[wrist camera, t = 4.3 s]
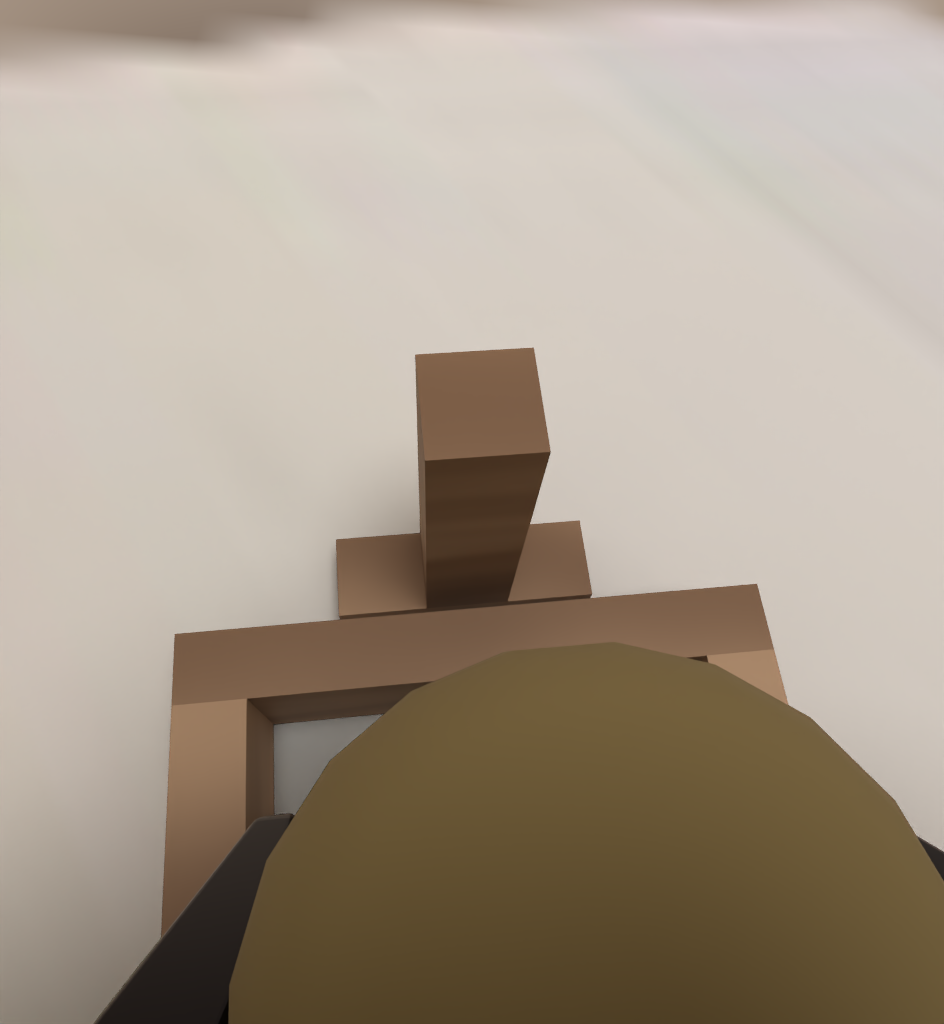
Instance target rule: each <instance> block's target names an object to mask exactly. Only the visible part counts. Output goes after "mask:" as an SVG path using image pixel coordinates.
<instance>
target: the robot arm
mask: <svg viewBox="0 0 944 1024" xmlns="http://www.w3.org/2000/svg"><path fill="white" fill-rule="evenodd" d="M294 816H295V815H293V814H280V815H270V816H262V817H259V818H257V819H256V820H254V821H253V823H252V824H251V825H250V826H249V828H248V829H247V830H246V831H245V833H244V834H243V835H242V836H241V838H240V839H239V840H238V841H237V843H236V844H235V845H234V846H233V848H232V849H231V850H230V852H229V853H228V854H227V855H226V857H225V858H224V859H223V860H222V862H221V863H220V864H219V865H218V867H217V868H216V869H215V871H214V872H213V873H212V874H211V876H210V877H209V878H208V879H207V881H206V882H205V883H204V884H203V886H202V887H201V888H200V889H199V891H198V892H197V893H196V895H195V896H194V897H193V898H192V900H191V901H190V902H189V903H188V905H187V906H186V907H185V908H184V910H183V911H182V912H181V913H180V915H179V916H178V917H177V919H176V920H175V921H174V922H173V924H172V925H171V926H170V927H169V929H168V930H167V931H166V932H165V934H164V935H163V936H162V937H161V939H160V940H159V941H158V943H157V944H156V945H155V946H154V948H153V949H152V950H151V951H150V953H149V954H148V955H147V956H146V958H145V959H144V960H143V961H142V963H141V964H140V965H139V967H138V968H137V969H136V970H135V972H134V973H133V974H132V975H131V977H130V978H129V979H128V980H127V982H126V983H125V984H124V985H123V987H122V988H121V989H120V991H119V992H118V993H117V994H116V996H115V997H114V998H113V999H112V1001H111V1002H110V1003H109V1004H108V1006H107V1007H106V1008H105V1009H104V1011H103V1012H102V1013H101V1015H100V1016H99V1017H98V1018H97V1020H96V1021H95V1022H94V1023H93V1024H228V1020H229V984H230V981H231V978H232V974H233V971H234V968H235V964H236V961H237V957H238V954H239V951H240V947H241V944H242V941H243V937H244V934H245V931H246V927H247V924H248V921H249V917H250V914H251V911H252V907H253V904H254V900H255V897H256V894H257V890H258V887H259V884H260V880H261V877H262V874H263V870H264V867H265V864H266V860H267V859H268V857H269V855H270V854H271V852H272V851H273V849H274V848H275V846H276V844H277V843H278V841H279V840H280V838H281V837H282V835H283V834H284V832H285V830H286V829H287V827H288V826H289V824H290V823H291V821H292V819H293V818H294ZM917 838H918V839H919V841H920V843H921V844H922V846H923V848H924V849H925V851H926V853H927V854H928V856H929V858H930V859H931V861H932V863H933V864H934V866H935V868H936V869H937V871H938V872H939V874H940V876H941V877H942V879H943V881H944V852H943V851H941V850H940V849H938V848H936V847H935V846H933V845H931V844H930V843H928V842H926V841H925V840H923V839H921V838H920V837H918V836H917Z"/></svg>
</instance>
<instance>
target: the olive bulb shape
mask: <svg viewBox="0 0 944 1024" xmlns="http://www.w3.org/2000/svg"><path fill="white" fill-rule="evenodd" d="M228 1024H944V881H943V879H942V877H941V876H940V874H939V872H938V871H937V869H936V868H935V866H934V864H933V863H932V861H931V859H930V858H929V856H928V854H927V853H926V851H925V849H924V848H923V846H922V844H921V843H920V841H919V839H918V838H917V836H916V834H915V833H914V831H913V829H912V828H911V826H910V824H909V823H908V821H907V820H906V818H905V816H904V815H903V813H902V811H901V810H900V808H899V806H898V805H897V803H896V801H895V800H894V799H893V798H892V797H891V796H890V795H889V794H888V793H887V792H886V791H885V790H884V789H883V788H882V787H881V786H880V785H879V784H878V783H877V782H876V781H875V780H874V779H873V778H872V777H871V776H870V775H869V774H867V773H866V772H865V771H864V770H863V769H862V768H861V767H860V766H859V765H858V764H857V763H856V762H855V761H854V760H853V759H852V758H851V757H850V756H849V755H848V754H847V753H846V752H845V751H844V750H843V749H842V748H841V747H840V746H839V745H838V744H837V743H836V742H835V741H834V740H833V739H832V738H831V737H830V736H829V735H828V734H827V733H826V732H825V731H824V730H823V729H822V728H821V727H820V726H819V725H818V724H817V723H816V722H815V721H814V720H813V719H811V718H810V717H809V716H807V715H805V714H803V713H801V712H800V711H798V710H796V709H794V708H792V707H791V706H789V705H787V704H785V703H783V702H782V701H780V700H778V699H776V698H775V697H773V696H771V695H769V694H767V693H766V692H764V691H762V690H760V689H758V688H757V687H755V686H753V685H751V684H749V683H748V682H746V681H744V680H742V679H741V678H739V677H737V676H735V675H733V674H732V673H730V672H728V671H726V670H724V669H723V668H721V667H719V666H717V665H715V664H711V663H707V662H702V661H698V660H693V659H689V658H684V657H680V656H676V655H671V654H667V653H662V652H658V651H653V650H649V649H645V648H640V647H636V646H631V645H627V644H622V643H618V642H607V643H595V644H584V645H572V646H561V647H549V648H537V649H526V650H514V651H506V652H502V653H500V654H497V655H495V656H493V657H490V658H488V659H486V660H483V661H481V662H478V663H476V664H474V665H471V666H469V667H467V668H464V669H462V670H460V671H457V672H455V673H452V674H450V675H448V676H445V677H443V678H441V679H438V680H436V681H434V682H431V683H429V684H426V685H424V686H422V687H419V688H417V689H415V690H412V691H411V692H409V693H408V694H407V695H406V696H405V697H404V698H402V699H401V700H400V701H399V702H398V703H397V704H395V705H394V706H393V707H392V708H391V709H390V710H388V711H387V712H386V713H385V714H384V715H383V716H381V717H380V718H379V719H378V720H377V721H376V722H374V723H373V724H372V725H371V726H370V727H369V728H368V729H366V730H365V731H364V732H363V733H362V734H361V735H359V736H358V737H357V738H356V739H355V740H354V741H352V742H351V743H350V744H349V745H348V746H347V747H345V748H344V749H343V750H342V751H341V752H340V753H338V754H337V755H336V756H335V757H334V758H333V759H331V760H330V761H329V763H328V765H327V766H326V768H325V769H324V771H323V772H322V774H321V776H320V777H319V779H318V780H317V782H316V783H315V785H314V787H313V788H312V790H311V791H310V793H309V794H308V796H307V797H306V799H305V801H304V802H303V804H302V805H301V807H300V808H299V810H298V812H297V813H296V815H295V816H294V818H293V819H292V821H291V823H290V824H289V826H288V827H287V829H286V830H285V832H284V834H283V835H282V837H281V838H280V840H279V841H278V843H277V844H276V846H275V848H274V849H273V851H272V852H271V854H270V855H269V857H268V859H267V860H266V864H265V867H264V870H263V874H262V877H261V880H260V884H259V887H258V890H257V894H256V897H255V900H254V904H253V907H252V911H251V914H250V917H249V921H248V924H247V927H246V931H245V934H244V937H243V941H242V944H241V947H240V951H239V954H238V957H237V961H236V964H235V968H234V971H233V974H232V978H231V981H230V984H229V1020H228Z"/></svg>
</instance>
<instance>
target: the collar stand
mask: <svg viewBox="0 0 944 1024" xmlns="http://www.w3.org/2000/svg"><path fill="white" fill-rule="evenodd" d="M415 360H416V397H417V433H418V470H419V506H420V533H414V534H401V535H388V536H376V537H363V538H350V539H337V540H336V552H337V577H338V603H339V617H340V620H333V621H321V622H309V623H298V624H286V625H275V626H263V627H251V628H240V629H228V630H217V631H205V632H193V633H182V634H175V641H174V663H173V686H172V708H171V730H170V752H169V774H168V796H167V818H166V840H165V862H164V884H163V906H162V928H161V937H162V936H163V935H164V934H165V932H166V931H167V930H168V929H169V927H170V926H171V925H172V924H173V922H174V921H175V920H176V919H177V917H178V916H179V915H180V913H181V912H182V911H183V910H184V908H185V907H186V906H187V905H188V903H189V902H190V901H191V900H192V898H193V897H194V896H195V895H196V893H197V892H198V891H199V889H200V888H201V887H202V886H203V884H204V883H205V882H206V881H207V879H208V878H209V877H210V876H211V874H212V873H213V872H214V871H215V869H216V868H217V867H218V865H219V864H220V863H221V862H222V860H223V859H224V858H225V857H226V855H227V854H228V853H229V852H230V850H231V849H232V848H233V846H234V845H235V844H236V843H237V841H238V840H239V839H240V838H241V836H242V835H243V834H244V833H245V831H246V830H247V829H248V828H249V826H250V825H251V824H252V823H253V821H254V820H256V819H257V818H259V817H262V816H270V815H274V736H273V724H281V723H291V722H302V721H312V720H322V719H333V718H343V717H354V716H364V715H374V714H385V713H386V712H387V711H388V710H390V709H391V708H392V707H393V706H394V705H395V704H397V703H398V702H399V701H400V700H401V699H402V698H404V697H405V696H406V695H407V694H408V693H409V692H411V691H412V690H415V689H417V688H419V687H422V686H424V685H426V684H429V683H431V682H434V681H436V680H438V679H441V678H443V677H445V676H448V675H450V674H452V673H455V672H457V671H460V670H462V669H464V668H467V667H469V666H471V665H474V664H476V663H478V662H481V661H483V660H486V659H488V658H490V657H493V656H495V655H497V654H500V653H502V652H506V651H514V650H526V649H537V648H549V647H561V646H572V645H584V644H595V643H607V642H618V643H622V644H627V645H631V646H636V647H640V648H645V649H649V650H653V651H658V652H662V653H667V654H671V655H676V656H680V657H684V658H689V659H693V660H698V661H702V662H707V663H711V664H715V665H717V666H719V667H721V668H723V669H724V670H726V671H728V672H730V673H732V674H733V675H735V676H737V677H739V678H741V679H742V680H744V681H746V682H748V683H749V684H751V685H753V686H755V687H757V688H758V689H760V690H762V691H764V692H766V693H767V694H769V695H771V696H773V697H775V698H776V699H778V700H780V701H782V702H783V703H785V704H787V705H788V702H787V698H786V694H785V690H784V686H783V683H782V679H781V675H780V671H779V667H778V663H777V659H776V656H775V652H774V648H773V644H772V640H771V636H770V632H769V629H768V625H767V621H766V617H765V613H764V609H763V605H762V602H761V598H760V594H759V590H758V586H757V584H750V585H739V586H727V587H715V588H704V589H692V590H681V591H669V592H657V593H646V594H634V595H623V596H611V597H599V598H590V597H591V595H592V591H591V585H590V579H589V573H588V567H587V561H586V556H585V550H584V544H583V538H582V532H581V527H580V521H569V522H556V523H543V524H530V522H531V518H532V515H533V511H534V508H535V504H536V501H537V497H538V494H539V490H540V487H541V483H542V480H543V476H544V473H545V469H546V466H547V463H548V459H549V456H550V445H549V439H548V433H547V427H546V421H545V415H544V408H543V402H542V396H541V390H540V384H539V378H538V371H537V365H536V359H535V353H534V348H520V349H503V350H486V351H469V352H452V353H435V354H418V355H415Z"/></svg>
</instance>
